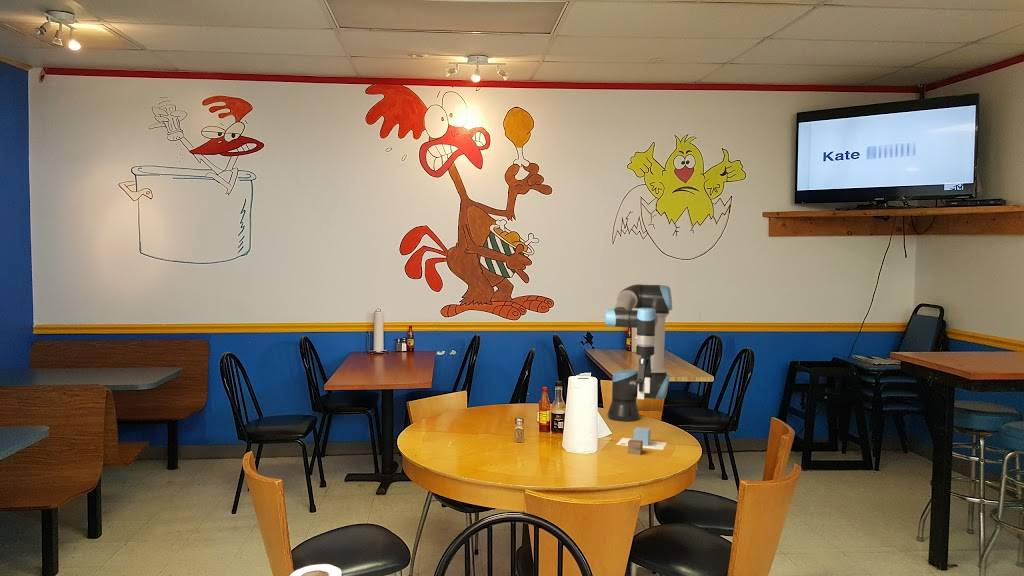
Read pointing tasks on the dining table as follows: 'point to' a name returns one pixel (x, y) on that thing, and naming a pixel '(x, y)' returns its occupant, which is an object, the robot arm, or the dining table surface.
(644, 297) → the robot arm
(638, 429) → the blue cube
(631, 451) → the walnut block
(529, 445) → the dining table surface
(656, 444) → the letter mat
